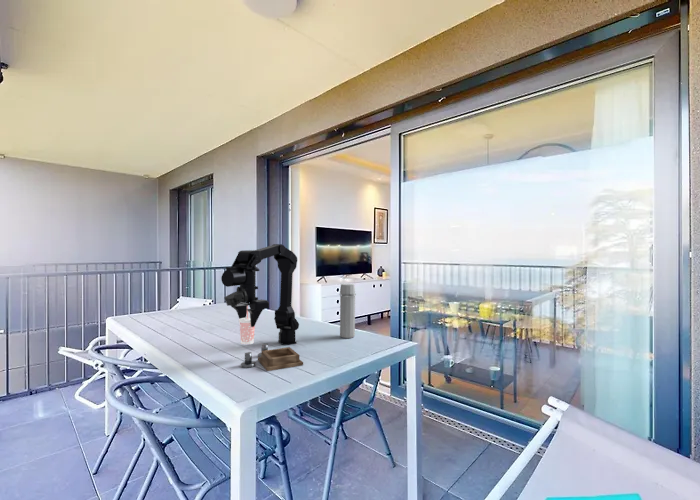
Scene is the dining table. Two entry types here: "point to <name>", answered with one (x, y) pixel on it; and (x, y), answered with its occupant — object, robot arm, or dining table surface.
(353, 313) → the water bottle
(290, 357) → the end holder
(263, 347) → the knob
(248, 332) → the beverage cup
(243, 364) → the knob
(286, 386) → the dining table surface
